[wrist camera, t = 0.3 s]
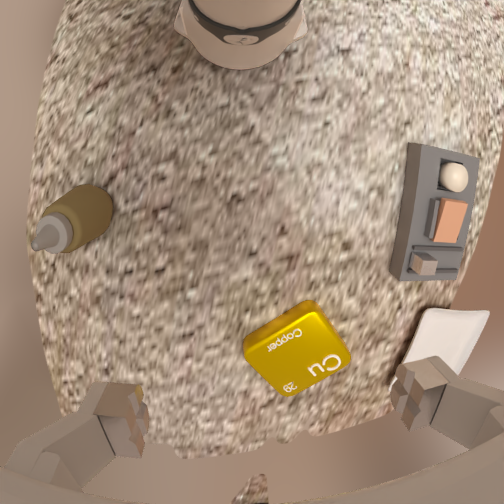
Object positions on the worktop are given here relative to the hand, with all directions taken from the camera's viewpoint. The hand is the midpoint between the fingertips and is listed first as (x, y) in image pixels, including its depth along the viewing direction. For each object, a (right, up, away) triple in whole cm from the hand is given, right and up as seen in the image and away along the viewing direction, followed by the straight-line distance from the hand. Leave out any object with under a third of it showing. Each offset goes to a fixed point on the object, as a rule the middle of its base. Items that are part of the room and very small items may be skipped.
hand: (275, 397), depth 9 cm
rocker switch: (+30, +9, +34) cm, 46 cm away
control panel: (+30, +11, +39) cm, 51 cm away
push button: (+30, +17, +34) cm, 48 cm away
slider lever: (+26, +3, +37) cm, 45 cm away
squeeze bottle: (-24, +11, +36) cm, 45 cm away
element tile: (+7, -12, +47) cm, 49 cm away
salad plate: (+40, -16, +51) cm, 67 cm away
